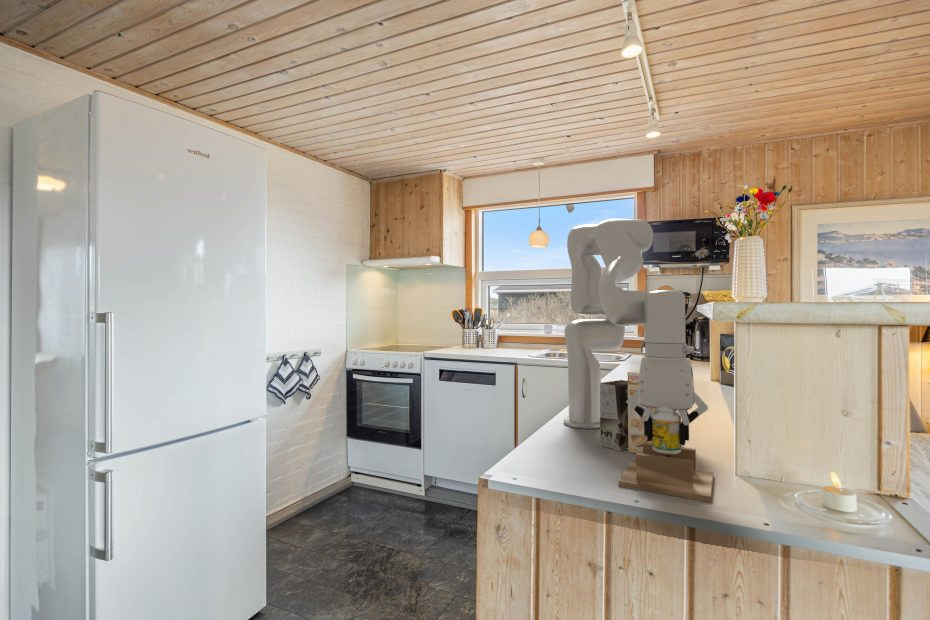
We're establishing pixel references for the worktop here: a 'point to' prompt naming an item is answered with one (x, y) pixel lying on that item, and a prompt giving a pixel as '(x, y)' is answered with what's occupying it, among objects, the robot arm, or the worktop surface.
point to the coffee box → (614, 414)
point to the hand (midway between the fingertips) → (666, 440)
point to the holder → (668, 474)
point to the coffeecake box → (636, 418)
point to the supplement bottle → (666, 431)
